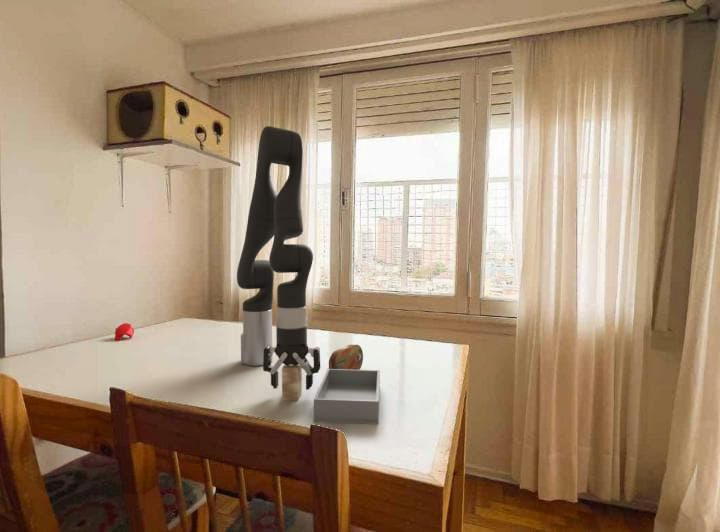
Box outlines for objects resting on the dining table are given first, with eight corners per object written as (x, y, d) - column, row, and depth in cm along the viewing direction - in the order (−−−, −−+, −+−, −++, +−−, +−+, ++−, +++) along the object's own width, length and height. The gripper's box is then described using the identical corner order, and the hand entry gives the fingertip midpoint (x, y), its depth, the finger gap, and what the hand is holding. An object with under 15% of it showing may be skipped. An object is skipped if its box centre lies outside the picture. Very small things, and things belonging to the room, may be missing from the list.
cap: (123, 328, 157) (112, 323, 152) (136, 323, 156) (124, 318, 151) (121, 346, 153) (109, 341, 148) (134, 341, 152) (122, 337, 147)
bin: (313, 421, 82) (313, 399, 81) (327, 387, 101) (327, 368, 101) (378, 424, 81) (378, 401, 80) (379, 388, 101) (379, 370, 100)
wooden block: (282, 399, 93) (282, 368, 93) (286, 393, 97) (286, 363, 97) (298, 400, 93) (298, 368, 92) (301, 393, 97) (301, 363, 96)
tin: (335, 384, 104) (335, 354, 103) (326, 381, 106) (326, 352, 105) (363, 369, 117) (364, 342, 116) (355, 367, 118) (355, 340, 118)
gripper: (258, 326, 91) (259, 393, 92) (317, 328, 90) (317, 394, 91) (268, 320, 98) (268, 381, 99) (322, 321, 97) (322, 383, 98)
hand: (292, 388), depth 95 cm, fingers open, 8 cm apart
